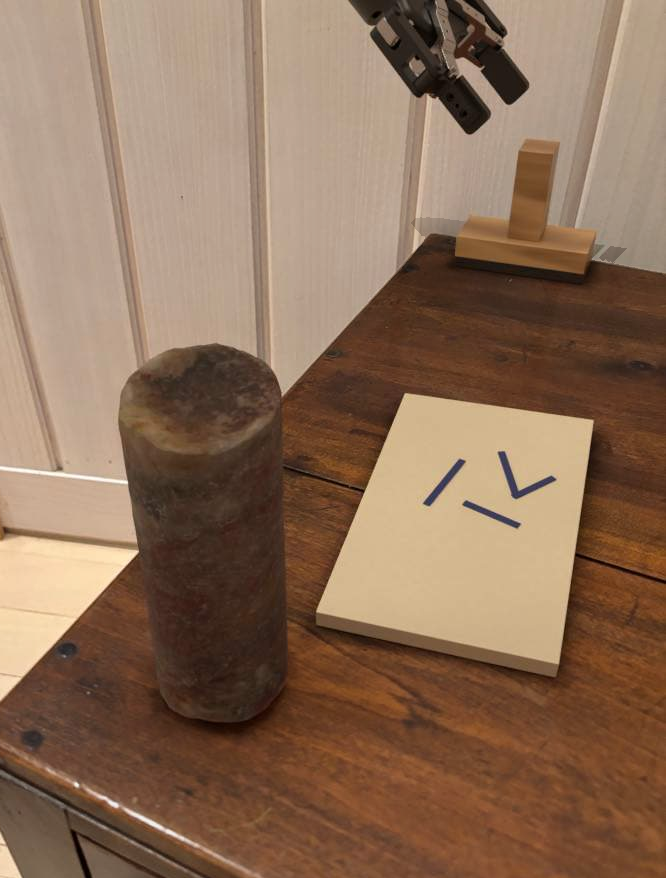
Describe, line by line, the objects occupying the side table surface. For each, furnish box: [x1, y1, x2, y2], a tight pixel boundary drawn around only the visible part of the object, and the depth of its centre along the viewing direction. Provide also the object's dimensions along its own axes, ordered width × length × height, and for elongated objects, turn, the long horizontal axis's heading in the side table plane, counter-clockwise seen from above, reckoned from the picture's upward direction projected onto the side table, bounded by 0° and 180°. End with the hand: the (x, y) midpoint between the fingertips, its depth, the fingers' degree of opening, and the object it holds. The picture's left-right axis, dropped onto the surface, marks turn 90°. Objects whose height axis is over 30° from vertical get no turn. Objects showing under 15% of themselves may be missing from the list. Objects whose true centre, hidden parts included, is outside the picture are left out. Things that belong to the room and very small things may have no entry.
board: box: [315, 392, 595, 678], centre depth 61 cm, size 24×14×1 cm, turn 161°
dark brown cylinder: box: [117, 342, 289, 724], centre depth 46 cm, size 8×7×20 cm
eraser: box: [453, 138, 598, 285], centre depth 85 cm, size 5×12×11 cm, turn 66°
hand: (501, 110), depth 72 cm, fingers open, 8 cm apart
